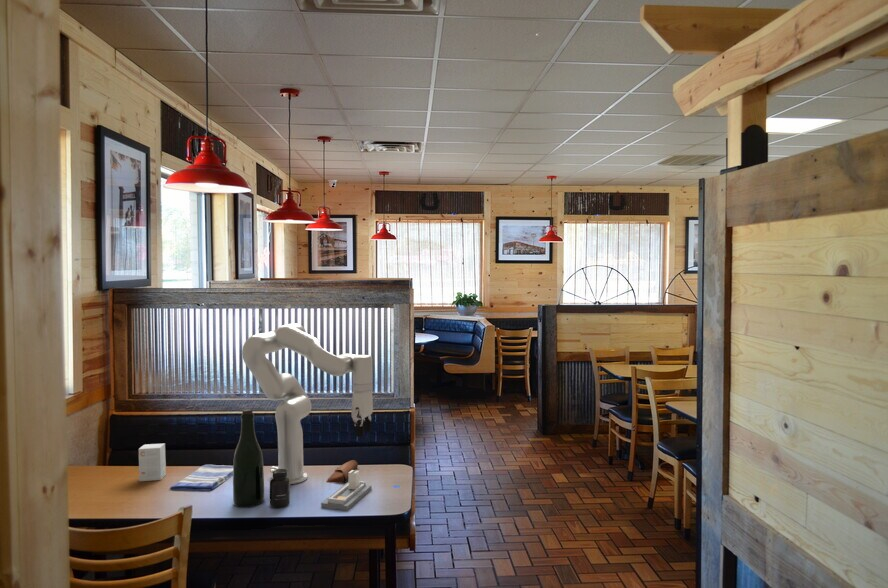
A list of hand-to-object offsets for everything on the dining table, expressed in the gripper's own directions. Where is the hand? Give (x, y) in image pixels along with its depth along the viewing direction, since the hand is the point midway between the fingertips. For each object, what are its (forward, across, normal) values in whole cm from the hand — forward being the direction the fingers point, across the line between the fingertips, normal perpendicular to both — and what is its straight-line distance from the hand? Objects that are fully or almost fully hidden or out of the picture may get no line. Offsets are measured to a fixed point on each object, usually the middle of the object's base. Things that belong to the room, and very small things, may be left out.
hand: (363, 433), depth 214 cm
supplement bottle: (+20, +26, -20) cm, 38 cm away
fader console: (+20, +14, 0) cm, 24 cm away
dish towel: (+20, +12, -62) cm, 67 cm away
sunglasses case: (+20, -7, -13) cm, 25 cm away
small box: (+20, +17, -84) cm, 88 cm away
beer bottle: (+20, +27, -32) cm, 46 cm away
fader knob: (+18, +9, 0) cm, 20 cm away
